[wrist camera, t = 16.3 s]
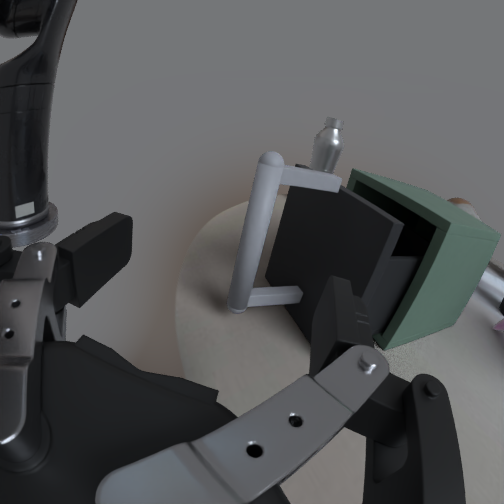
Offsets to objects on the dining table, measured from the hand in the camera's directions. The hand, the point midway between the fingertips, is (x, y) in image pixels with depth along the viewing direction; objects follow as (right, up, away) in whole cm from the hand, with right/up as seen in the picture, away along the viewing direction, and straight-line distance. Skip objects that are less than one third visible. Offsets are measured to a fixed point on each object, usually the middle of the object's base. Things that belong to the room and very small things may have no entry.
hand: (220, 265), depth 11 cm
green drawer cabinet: (+19, -6, +24) cm, 31 cm away
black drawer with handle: (+9, -6, +19) cm, 22 cm away
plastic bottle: (+14, +10, +53) cm, 56 cm away
